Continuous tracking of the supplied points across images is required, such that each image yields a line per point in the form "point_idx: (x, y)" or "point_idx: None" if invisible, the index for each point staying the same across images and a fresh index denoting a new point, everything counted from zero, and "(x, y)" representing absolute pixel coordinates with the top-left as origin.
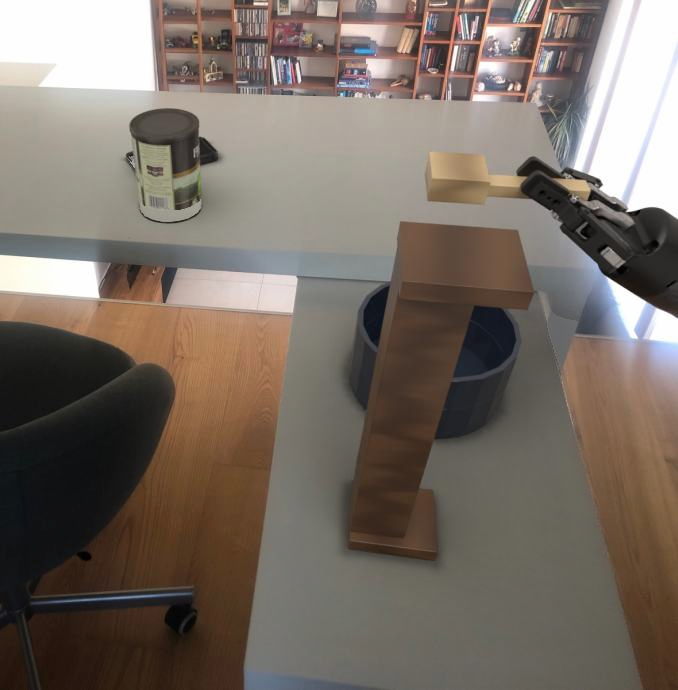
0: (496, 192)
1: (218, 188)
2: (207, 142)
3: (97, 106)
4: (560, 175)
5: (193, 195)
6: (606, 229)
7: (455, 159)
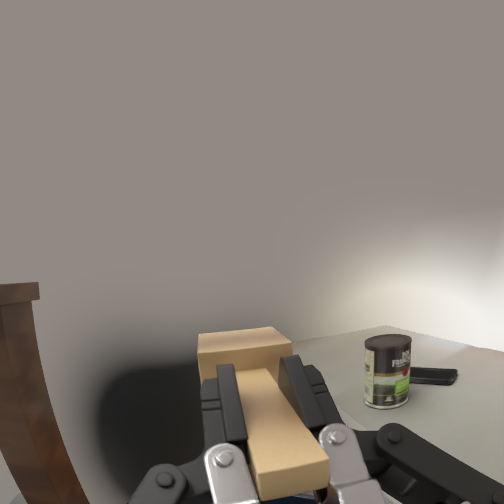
0: None
1: (426, 400)
2: (455, 373)
3: (434, 346)
4: (308, 417)
5: (388, 393)
6: None
7: (258, 335)
